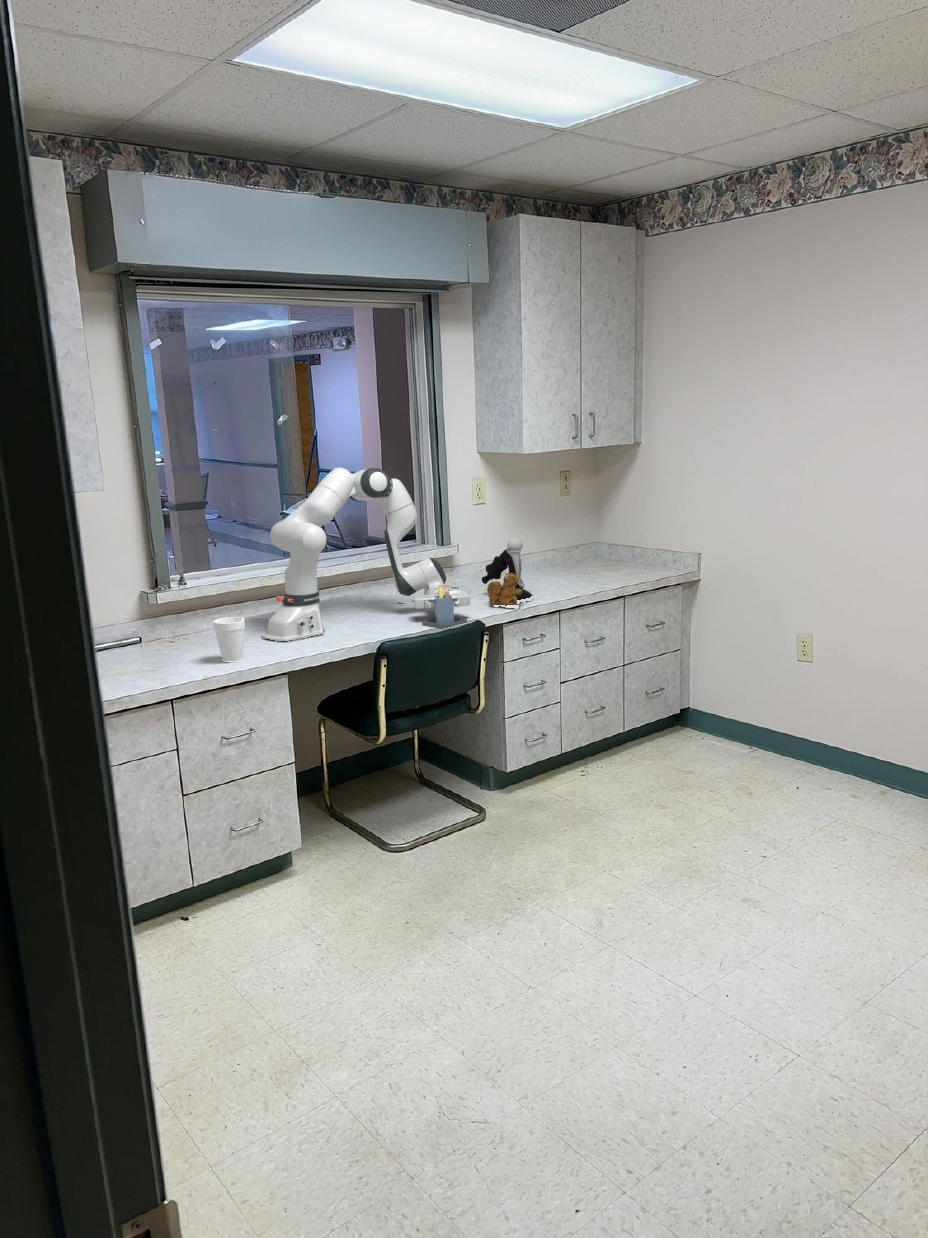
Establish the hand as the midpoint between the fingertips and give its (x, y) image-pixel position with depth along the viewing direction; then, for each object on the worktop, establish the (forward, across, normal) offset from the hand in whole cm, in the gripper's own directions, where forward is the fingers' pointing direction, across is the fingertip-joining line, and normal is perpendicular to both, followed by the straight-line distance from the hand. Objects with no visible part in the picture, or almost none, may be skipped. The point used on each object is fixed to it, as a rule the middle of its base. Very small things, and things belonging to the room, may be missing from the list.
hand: (444, 605), depth 324 cm
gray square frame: (-1, 0, +8) cm, 8 cm away
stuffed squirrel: (-27, +27, +8) cm, 39 cm away
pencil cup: (-1, 0, +7) cm, 7 cm away
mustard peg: (0, -1, +6) cm, 6 cm away
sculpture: (-42, +31, +8) cm, 53 cm away
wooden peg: (-1, +1, +6) cm, 7 cm away
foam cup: (+26, -71, +8) cm, 76 cm away
